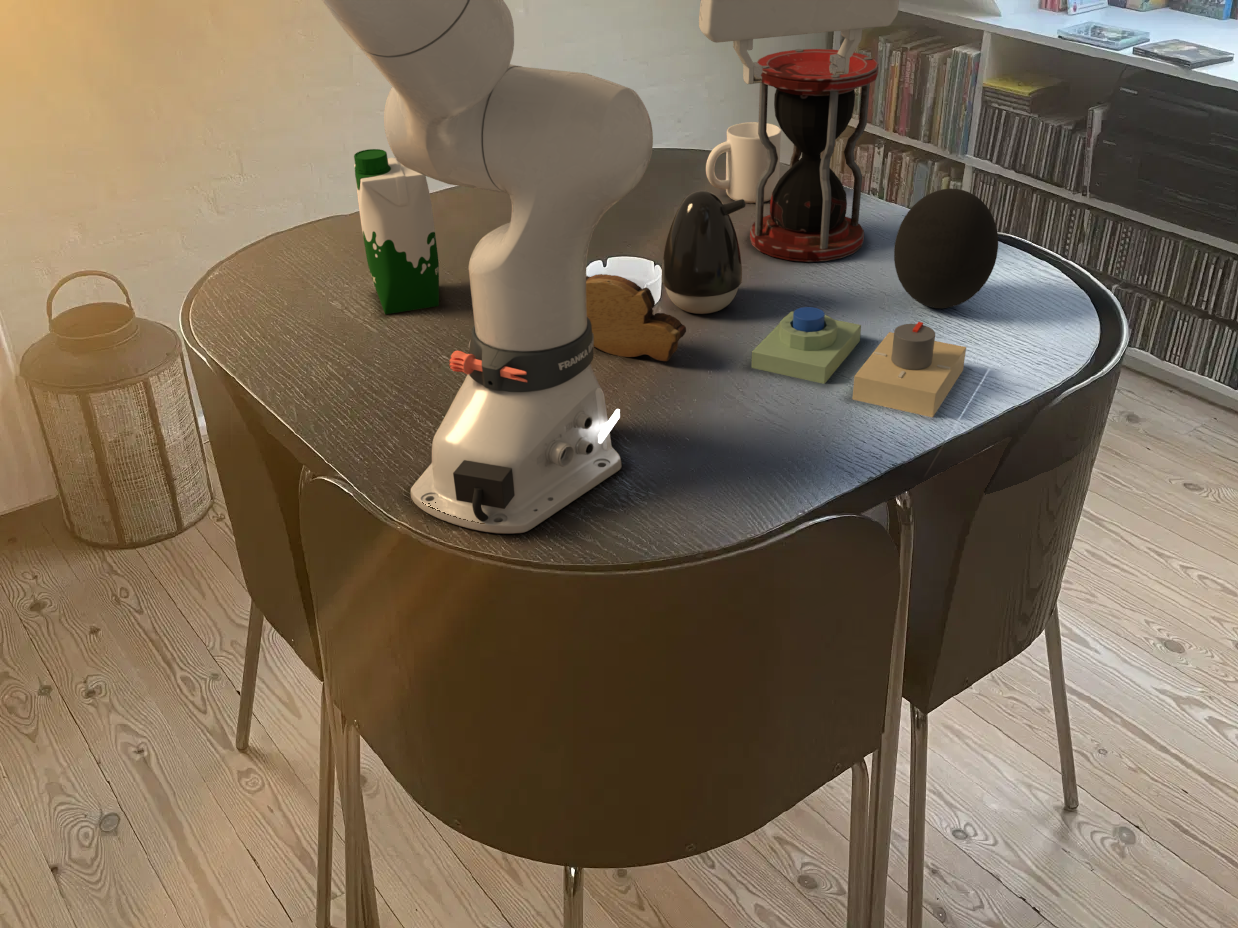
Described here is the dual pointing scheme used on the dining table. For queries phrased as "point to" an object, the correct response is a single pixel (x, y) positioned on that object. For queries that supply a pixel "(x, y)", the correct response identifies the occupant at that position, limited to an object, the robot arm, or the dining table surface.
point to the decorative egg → (946, 248)
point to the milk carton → (397, 232)
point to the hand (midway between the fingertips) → (795, 78)
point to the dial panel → (909, 379)
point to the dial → (913, 346)
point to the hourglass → (811, 155)
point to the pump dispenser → (702, 254)
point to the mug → (745, 162)
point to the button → (808, 319)
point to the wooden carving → (629, 319)
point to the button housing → (806, 349)
